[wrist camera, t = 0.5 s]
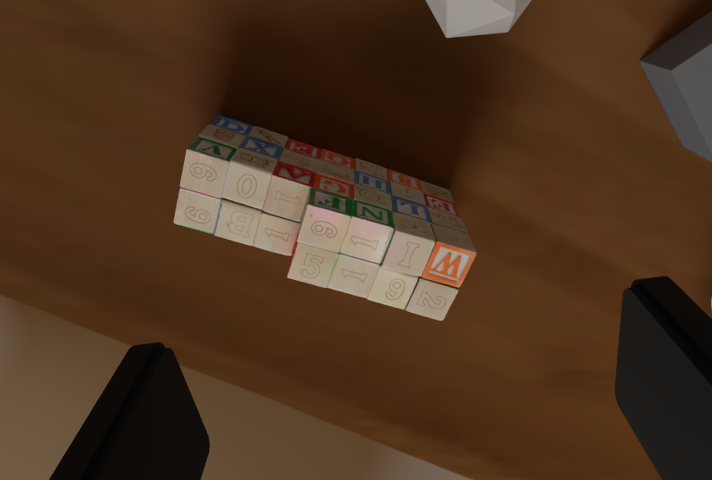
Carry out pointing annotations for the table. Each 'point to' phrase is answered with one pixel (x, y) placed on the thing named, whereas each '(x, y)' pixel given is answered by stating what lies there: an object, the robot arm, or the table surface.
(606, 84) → the table surface
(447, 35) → the die
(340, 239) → the stack of blocks
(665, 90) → the charcoal block
